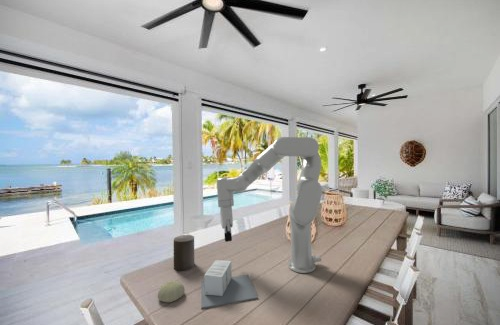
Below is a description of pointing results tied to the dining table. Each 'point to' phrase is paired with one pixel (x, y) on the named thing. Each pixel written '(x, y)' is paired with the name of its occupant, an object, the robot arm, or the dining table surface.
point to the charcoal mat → (230, 293)
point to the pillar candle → (183, 252)
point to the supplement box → (217, 278)
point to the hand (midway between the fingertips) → (228, 240)
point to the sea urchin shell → (171, 291)
